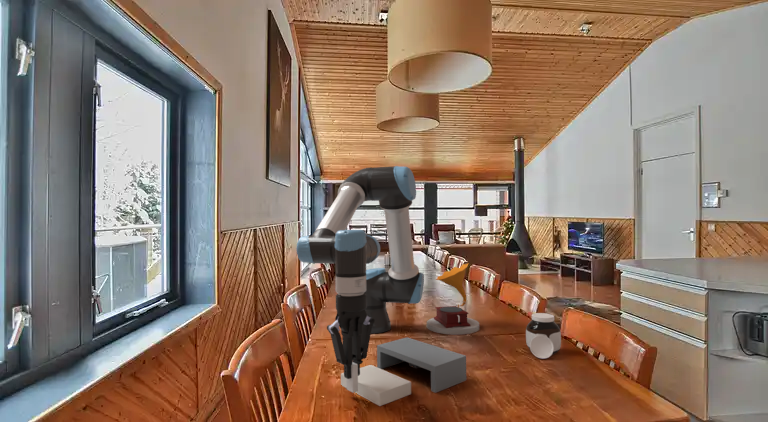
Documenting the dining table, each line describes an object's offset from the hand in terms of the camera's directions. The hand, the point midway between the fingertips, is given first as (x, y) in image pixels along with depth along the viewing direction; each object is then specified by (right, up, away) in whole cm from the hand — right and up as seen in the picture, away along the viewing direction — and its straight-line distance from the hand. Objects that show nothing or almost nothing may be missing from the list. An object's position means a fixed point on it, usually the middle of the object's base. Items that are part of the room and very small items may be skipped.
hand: (352, 390), depth 102 cm
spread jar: (+58, -2, +30) cm, 66 cm away
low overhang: (+18, -2, +15) cm, 23 cm away
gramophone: (+35, -2, +63) cm, 72 cm away
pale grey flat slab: (+5, -2, +4) cm, 7 cm away
